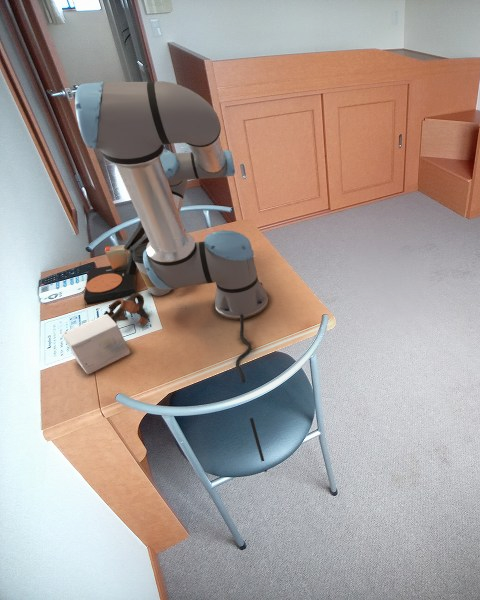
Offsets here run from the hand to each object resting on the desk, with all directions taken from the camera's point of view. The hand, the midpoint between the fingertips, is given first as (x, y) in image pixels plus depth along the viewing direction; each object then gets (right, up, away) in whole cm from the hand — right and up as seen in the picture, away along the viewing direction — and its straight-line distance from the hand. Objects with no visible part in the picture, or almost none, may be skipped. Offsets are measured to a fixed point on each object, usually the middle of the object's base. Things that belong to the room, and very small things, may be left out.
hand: (150, 277), depth 128 cm
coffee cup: (0, -4, +6) cm, 7 cm away
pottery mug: (-2, -12, -5) cm, 14 cm away
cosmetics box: (-1, -22, -17) cm, 28 cm away
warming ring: (-16, -1, +3) cm, 16 cm away
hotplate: (-15, -1, +8) cm, 17 cm away
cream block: (-14, +4, +10) cm, 18 cm away
